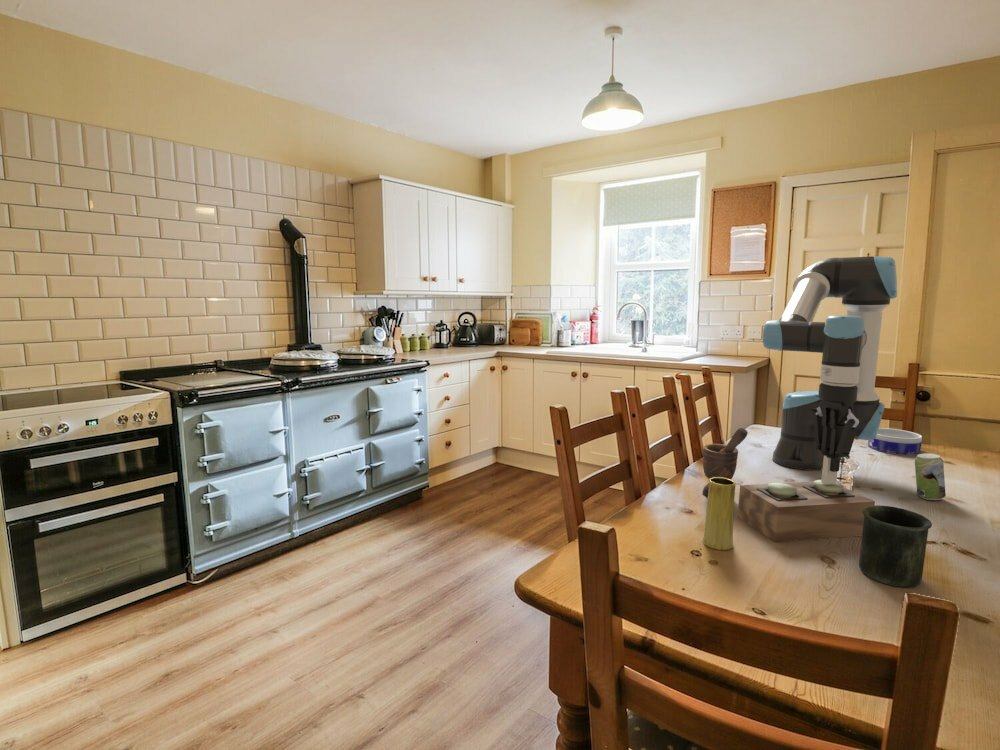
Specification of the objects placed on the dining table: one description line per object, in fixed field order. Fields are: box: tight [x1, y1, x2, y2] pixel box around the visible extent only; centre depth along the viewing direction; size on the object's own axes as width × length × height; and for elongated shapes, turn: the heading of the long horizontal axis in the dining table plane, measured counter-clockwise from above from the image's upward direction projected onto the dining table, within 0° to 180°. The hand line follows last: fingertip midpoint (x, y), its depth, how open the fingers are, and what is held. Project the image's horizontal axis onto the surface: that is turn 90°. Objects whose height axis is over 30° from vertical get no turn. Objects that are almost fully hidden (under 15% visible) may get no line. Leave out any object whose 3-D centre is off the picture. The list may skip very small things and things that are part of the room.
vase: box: [702, 477, 736, 551], centre depth 118 cm, size 6×6×14 cm
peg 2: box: [814, 479, 845, 495], centre depth 129 cm, size 6×6×8 cm
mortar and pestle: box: [702, 427, 749, 497], centre depth 146 cm, size 12×9×20 cm
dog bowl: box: [867, 427, 923, 456], centre depth 194 cm, size 15×15×6 cm
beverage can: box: [914, 452, 947, 501], centre depth 146 cm, size 6×7×12 cm
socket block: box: [737, 480, 876, 543], centre depth 128 cm, size 14×24×8 cm, turn 99°
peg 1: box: [767, 482, 797, 498], centre depth 127 cm, size 6×6×8 cm
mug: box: [858, 504, 933, 588], centre depth 107 cm, size 11×15×12 cm
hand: (828, 483), depth 128 cm, fingers closed
